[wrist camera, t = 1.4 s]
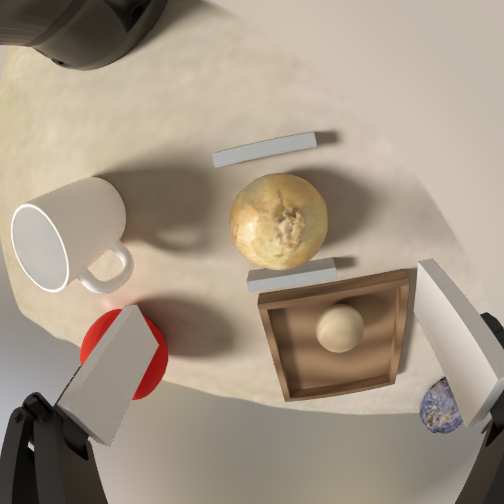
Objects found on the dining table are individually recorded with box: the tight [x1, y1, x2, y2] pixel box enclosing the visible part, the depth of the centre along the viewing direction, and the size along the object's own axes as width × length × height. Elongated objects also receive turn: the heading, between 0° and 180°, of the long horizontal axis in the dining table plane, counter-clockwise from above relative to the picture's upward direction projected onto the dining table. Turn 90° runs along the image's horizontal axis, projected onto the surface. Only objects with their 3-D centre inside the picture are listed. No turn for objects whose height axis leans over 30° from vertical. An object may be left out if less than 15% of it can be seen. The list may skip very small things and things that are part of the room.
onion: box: [230, 173, 328, 270], centre depth 22 cm, size 8×8×7 cm
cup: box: [11, 177, 134, 294], centre depth 23 cm, size 8×12×10 cm
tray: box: [257, 269, 409, 402], centre depth 30 cm, size 18×16×2 cm
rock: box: [420, 379, 463, 433], centre depth 31 cm, size 11×10×10 cm
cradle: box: [211, 132, 337, 292], centre depth 24 cm, size 13×8×2 cm, turn 14°
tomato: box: [80, 309, 168, 400], centre depth 28 cm, size 10×11×11 cm
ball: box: [316, 304, 364, 353], centre depth 26 cm, size 5×5×5 cm
